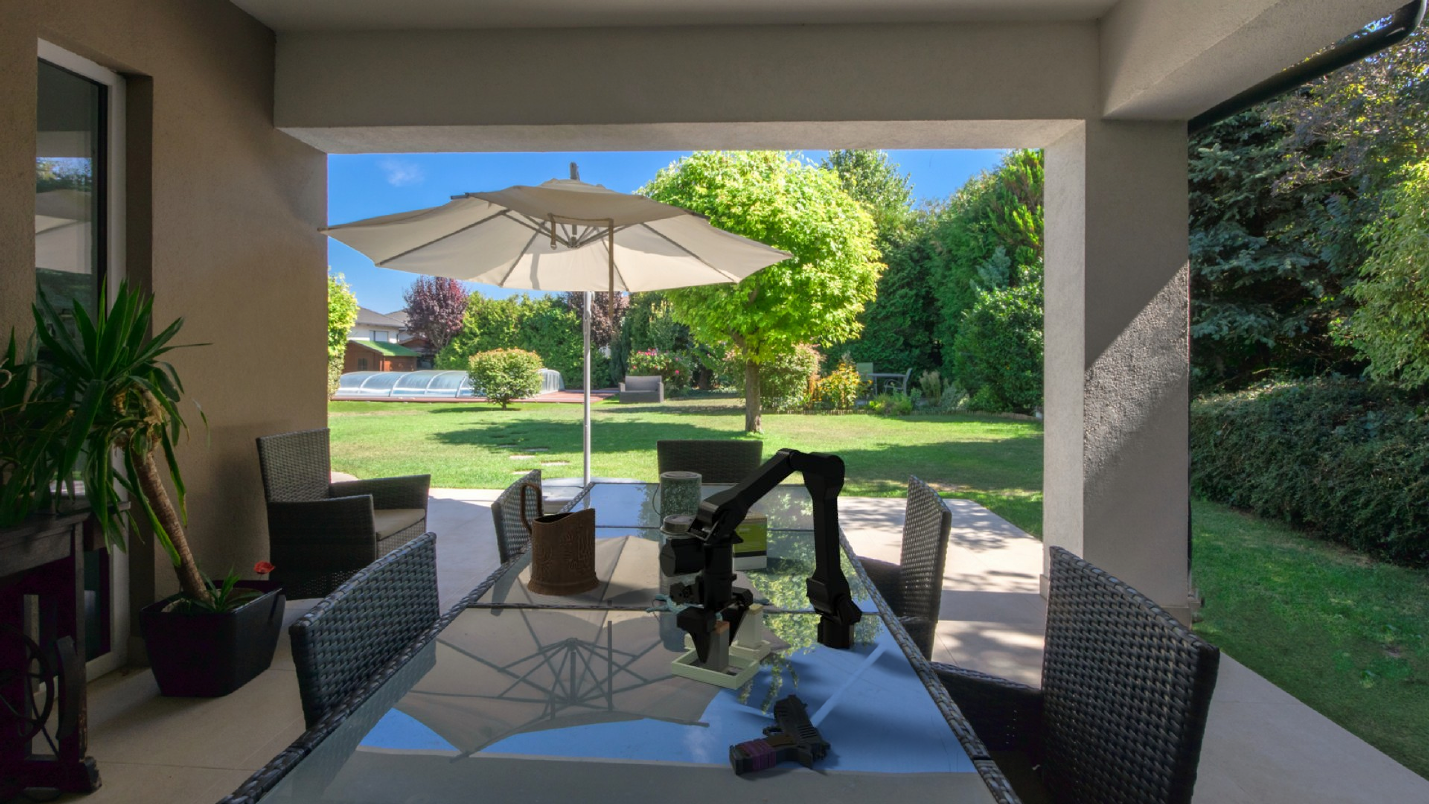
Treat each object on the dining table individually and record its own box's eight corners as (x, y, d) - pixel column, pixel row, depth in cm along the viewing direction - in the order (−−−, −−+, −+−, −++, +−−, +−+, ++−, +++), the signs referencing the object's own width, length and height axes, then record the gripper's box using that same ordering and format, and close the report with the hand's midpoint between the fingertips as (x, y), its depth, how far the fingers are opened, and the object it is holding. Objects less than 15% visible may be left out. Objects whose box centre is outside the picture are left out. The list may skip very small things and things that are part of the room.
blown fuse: (728, 672, 138) (729, 622, 138) (719, 680, 135) (719, 628, 135) (711, 668, 140) (711, 618, 140) (701, 675, 137) (702, 624, 136)
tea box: (716, 557, 223) (717, 507, 222) (749, 555, 226) (750, 506, 225) (733, 571, 208) (734, 518, 207) (767, 568, 211) (768, 516, 210)
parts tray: (759, 676, 138) (759, 660, 138) (735, 695, 130) (736, 678, 130) (696, 661, 145) (697, 646, 145) (670, 678, 137) (671, 662, 137)
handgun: (717, 713, 125) (806, 709, 127) (733, 779, 105) (839, 773, 107) (717, 696, 125) (806, 692, 126) (733, 759, 105) (839, 753, 107)
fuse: (762, 652, 147) (763, 604, 147) (754, 658, 144) (754, 610, 144) (745, 649, 149) (746, 601, 148) (737, 655, 146) (738, 606, 145)
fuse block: (773, 655, 149) (773, 640, 148) (755, 669, 142) (755, 653, 141) (701, 639, 156) (701, 625, 156) (681, 652, 149) (681, 637, 149)
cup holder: (565, 600, 181) (566, 496, 180) (495, 584, 193) (495, 486, 192) (615, 582, 197) (615, 486, 195) (546, 567, 209) (547, 477, 208)
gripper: (703, 552, 149) (702, 630, 150) (650, 575, 132) (649, 662, 133) (755, 560, 143) (753, 641, 144) (706, 584, 127) (704, 676, 128)
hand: (715, 654), depth 137 cm, fingers open, 9 cm apart
